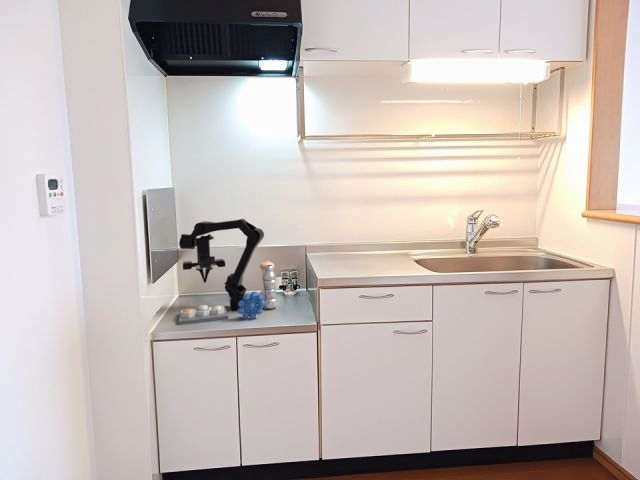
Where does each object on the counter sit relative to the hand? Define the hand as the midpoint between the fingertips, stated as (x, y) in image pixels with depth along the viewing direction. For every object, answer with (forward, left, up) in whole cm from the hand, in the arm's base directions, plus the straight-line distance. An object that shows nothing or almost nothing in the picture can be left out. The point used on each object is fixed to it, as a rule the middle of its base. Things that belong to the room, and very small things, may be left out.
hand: (204, 282), depth 200 cm
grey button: (+2, +14, -10) cm, 17 cm away
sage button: (-4, +14, -11) cm, 18 cm away
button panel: (+2, +14, -12) cm, 18 cm away
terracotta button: (+8, +14, -11) cm, 19 cm away
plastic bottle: (-28, +12, -12) cm, 33 cm away
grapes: (-18, +23, -12) cm, 31 cm away
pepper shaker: (-30, -4, -12) cm, 33 cm away
